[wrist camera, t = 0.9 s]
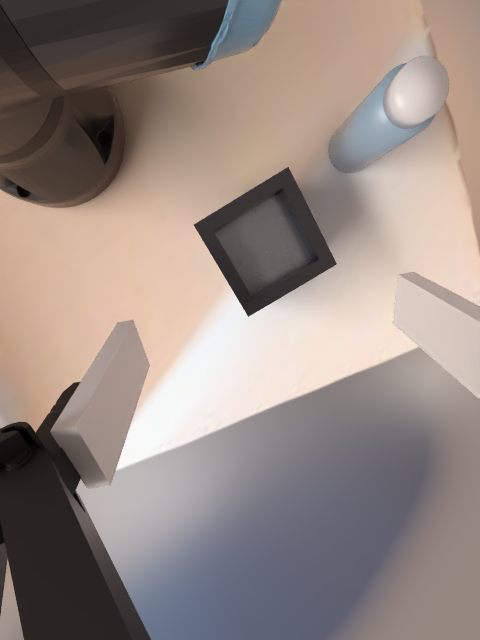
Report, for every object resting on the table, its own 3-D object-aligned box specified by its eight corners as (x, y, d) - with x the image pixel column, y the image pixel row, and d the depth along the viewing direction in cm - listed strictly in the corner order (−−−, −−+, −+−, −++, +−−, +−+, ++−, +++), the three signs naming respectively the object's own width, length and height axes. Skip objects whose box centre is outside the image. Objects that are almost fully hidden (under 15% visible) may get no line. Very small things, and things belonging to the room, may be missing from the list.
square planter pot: (199, 233, 33) (193, 224, 25) (271, 189, 32) (288, 167, 25) (241, 304, 35) (248, 316, 27) (309, 263, 34) (336, 264, 27)
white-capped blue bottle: (320, 139, 32) (377, 71, 20) (360, 114, 32) (440, 32, 20) (340, 182, 33) (405, 140, 22) (379, 158, 33) (465, 103, 21)
